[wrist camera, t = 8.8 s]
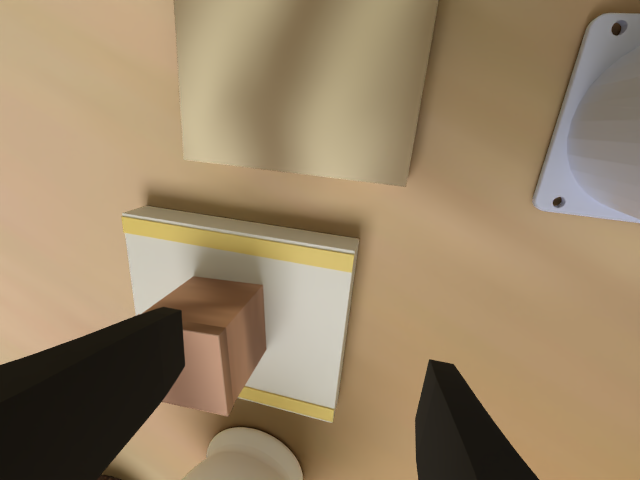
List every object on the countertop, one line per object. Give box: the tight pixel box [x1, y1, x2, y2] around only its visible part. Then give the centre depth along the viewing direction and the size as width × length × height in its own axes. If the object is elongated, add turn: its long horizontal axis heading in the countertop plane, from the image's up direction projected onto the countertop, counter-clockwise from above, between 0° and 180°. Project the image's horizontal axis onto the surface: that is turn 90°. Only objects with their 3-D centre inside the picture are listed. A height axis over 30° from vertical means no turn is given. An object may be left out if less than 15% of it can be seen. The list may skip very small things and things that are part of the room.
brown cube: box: [136, 276, 266, 416], centre depth 18 cm, size 5×5×5 cm
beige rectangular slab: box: [174, 0, 439, 187], centre depth 16 cm, size 12×9×2 cm
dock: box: [122, 206, 359, 423], centre depth 21 cm, size 14×12×2 cm
